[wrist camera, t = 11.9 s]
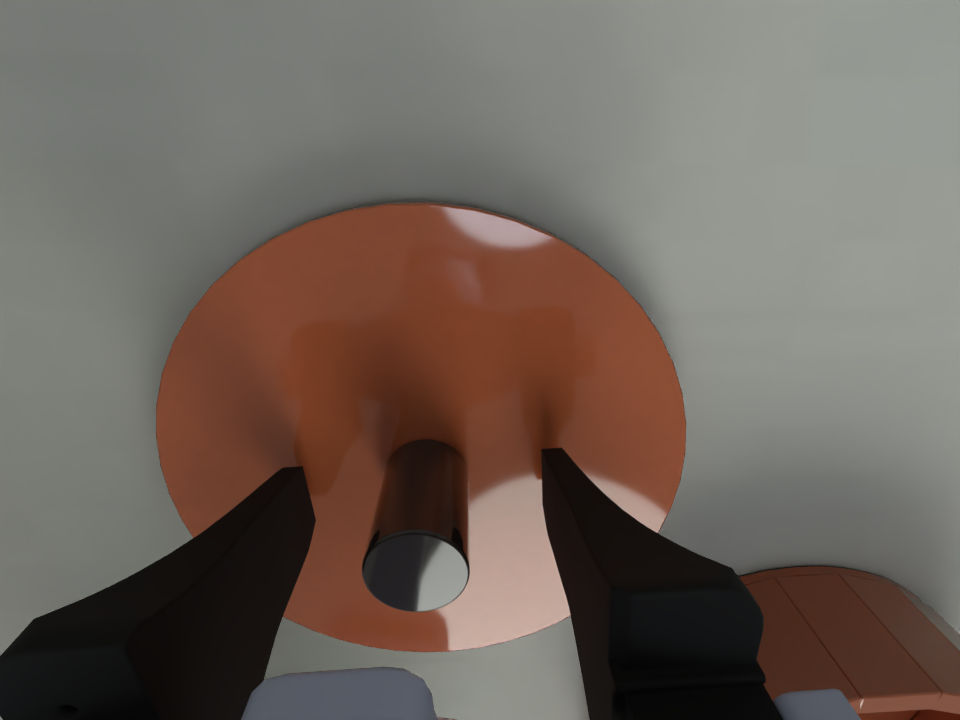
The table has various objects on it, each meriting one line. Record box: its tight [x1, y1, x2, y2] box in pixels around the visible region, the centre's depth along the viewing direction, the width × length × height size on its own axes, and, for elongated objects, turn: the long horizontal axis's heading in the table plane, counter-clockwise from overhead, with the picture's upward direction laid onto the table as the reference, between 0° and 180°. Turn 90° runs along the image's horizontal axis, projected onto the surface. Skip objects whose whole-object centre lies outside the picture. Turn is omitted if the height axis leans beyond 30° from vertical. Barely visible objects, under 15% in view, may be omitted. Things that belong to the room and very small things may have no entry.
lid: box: [156, 202, 686, 652], centre depth 14 cm, size 16×16×5 cm
